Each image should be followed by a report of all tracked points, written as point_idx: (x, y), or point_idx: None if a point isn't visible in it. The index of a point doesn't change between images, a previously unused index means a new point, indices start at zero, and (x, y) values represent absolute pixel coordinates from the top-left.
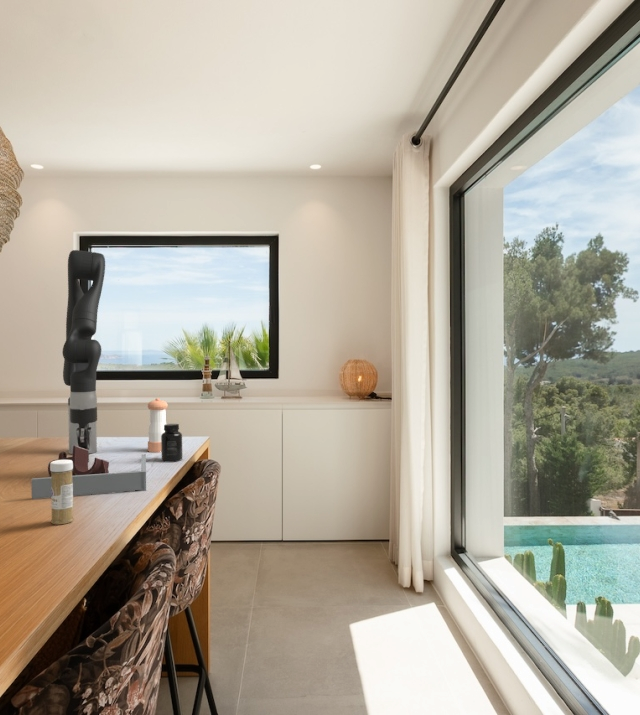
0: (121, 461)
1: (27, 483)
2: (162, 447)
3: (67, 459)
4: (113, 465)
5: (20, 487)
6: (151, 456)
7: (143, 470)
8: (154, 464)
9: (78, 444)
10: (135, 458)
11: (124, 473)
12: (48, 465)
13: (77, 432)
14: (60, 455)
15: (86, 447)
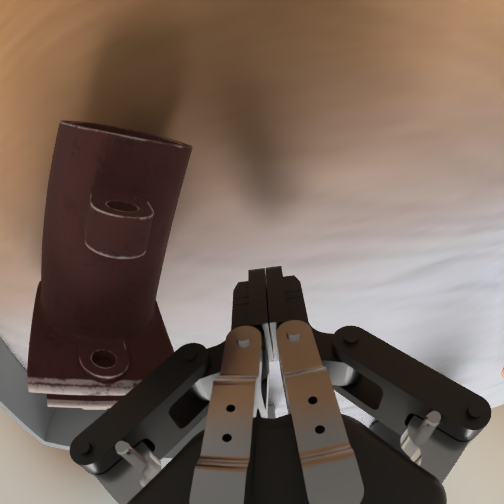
0: (461, 320)
1: (71, 19)
2: (400, 447)
3: (48, 279)
4: (409, 316)
5: (7, 39)
6: (473, 370)
7: (50, 444)
8: (358, 408)
9: (121, 400)
10: (476, 343)
11: (13, 417)
12: (62, 122)
13: (192, 493)
14: (87, 219)
15: (174, 403)
